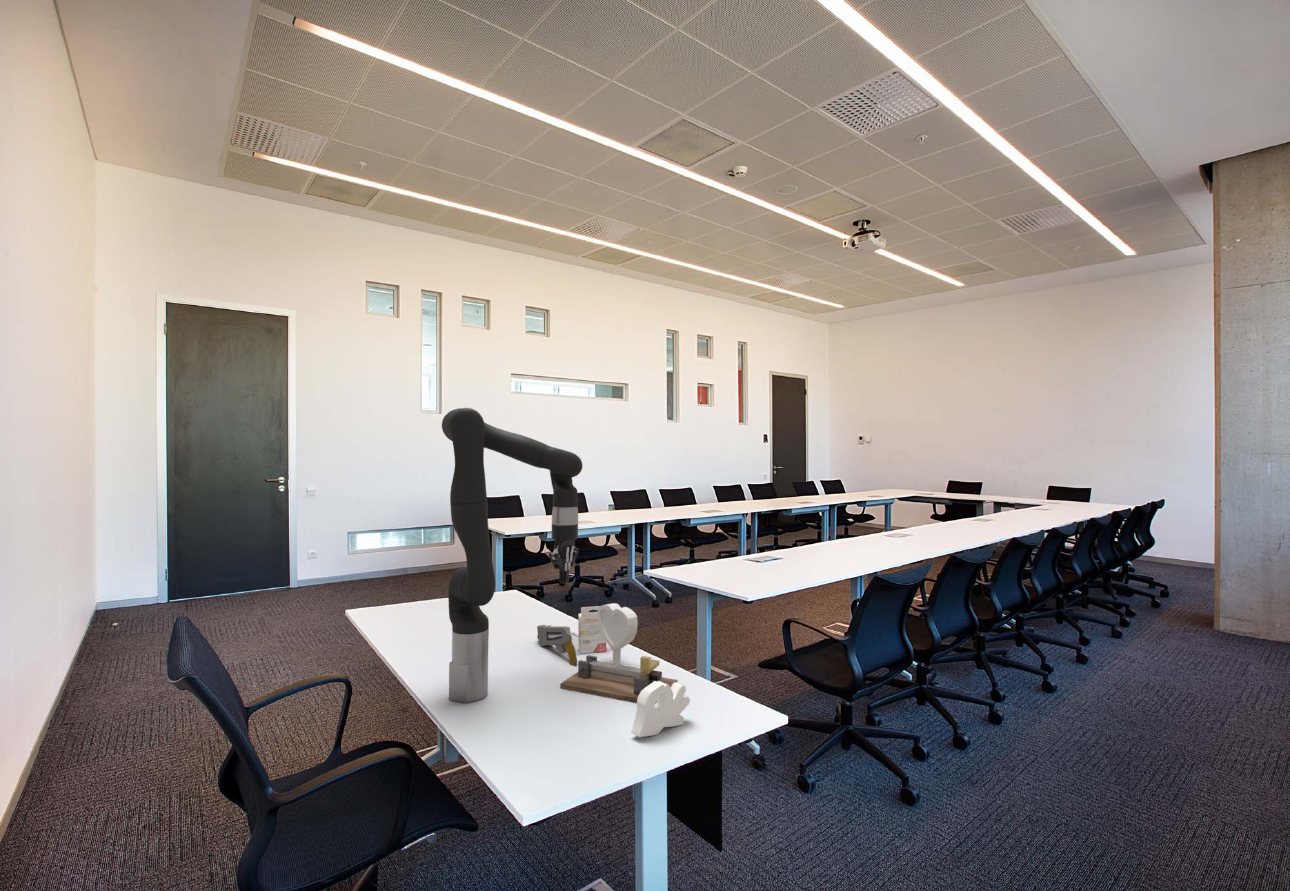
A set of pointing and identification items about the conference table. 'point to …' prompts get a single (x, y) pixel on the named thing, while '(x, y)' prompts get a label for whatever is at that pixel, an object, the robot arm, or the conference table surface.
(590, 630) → the ink cartridge box
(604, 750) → the conference table surface
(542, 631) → the gun
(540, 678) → the conference table surface
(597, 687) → the walnut board
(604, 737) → the conference table surface
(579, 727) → the conference table surface
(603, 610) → the heart sculpture
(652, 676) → the tong arm
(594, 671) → the tong frame
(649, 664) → the lock bolt
